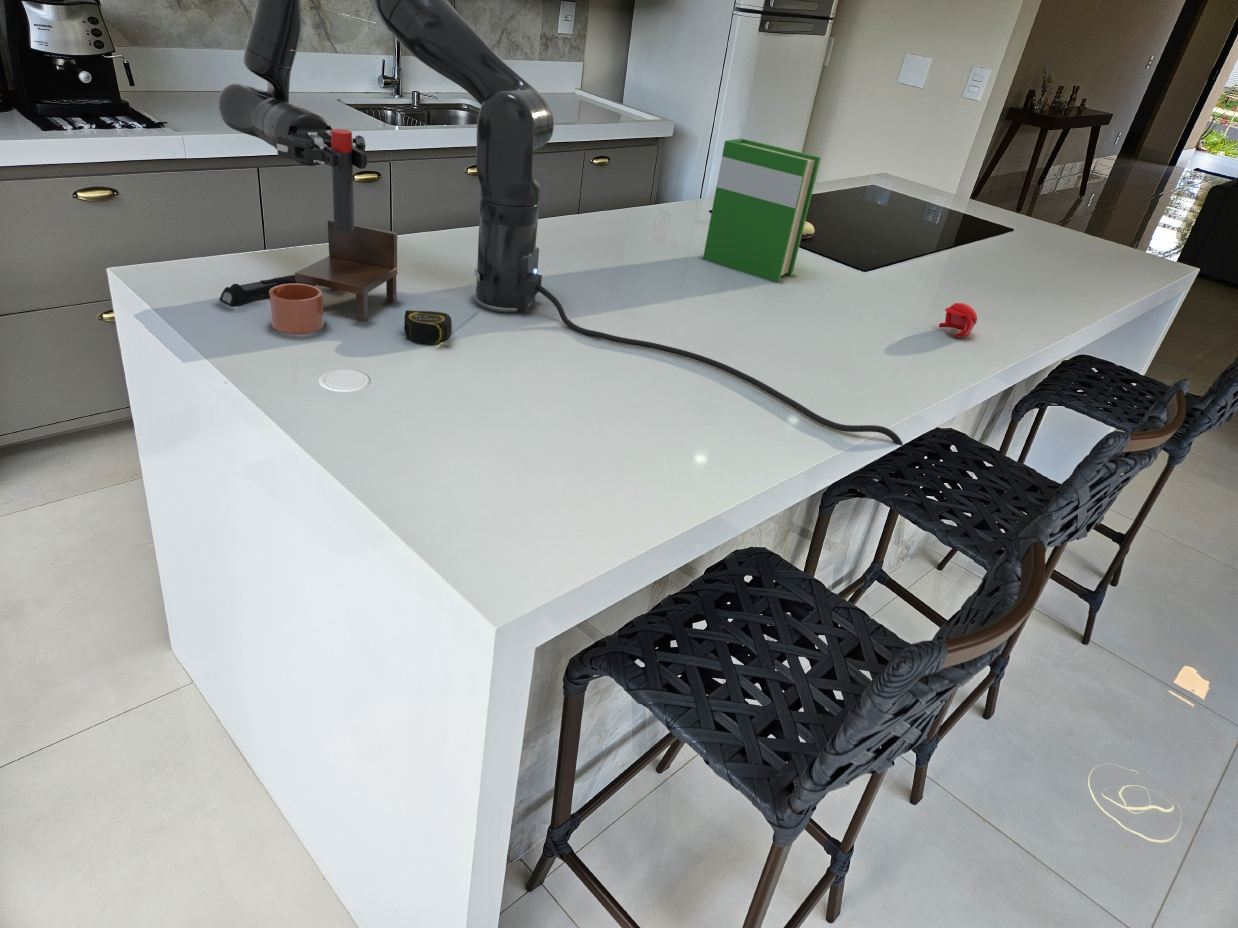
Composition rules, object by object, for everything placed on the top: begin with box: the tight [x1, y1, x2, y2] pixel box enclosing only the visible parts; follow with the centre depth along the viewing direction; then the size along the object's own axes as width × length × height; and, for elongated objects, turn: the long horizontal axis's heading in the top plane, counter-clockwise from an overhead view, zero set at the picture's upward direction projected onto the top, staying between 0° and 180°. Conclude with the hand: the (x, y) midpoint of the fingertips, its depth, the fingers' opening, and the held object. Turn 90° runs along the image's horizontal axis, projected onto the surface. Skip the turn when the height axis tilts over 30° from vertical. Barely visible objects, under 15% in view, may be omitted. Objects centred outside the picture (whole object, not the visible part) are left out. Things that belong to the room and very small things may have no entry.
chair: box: [294, 218, 398, 323], centre depth 128 cm, size 11×11×12 cm
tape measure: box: [403, 310, 453, 345], centre depth 123 cm, size 7×7×4 cm
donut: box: [801, 221, 815, 240], centre depth 206 cm, size 10×5×9 cm
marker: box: [331, 128, 355, 232], centre depth 120 cm, size 3×3×14 cm
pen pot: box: [268, 283, 325, 335], centre depth 120 cm, size 7×7×6 cm
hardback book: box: [702, 137, 822, 283], centre depth 172 cm, size 18×7×24 cm, turn 56°
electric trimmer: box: [219, 274, 317, 308], centre depth 129 cm, size 4×16×3 cm, turn 142°
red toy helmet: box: [938, 302, 978, 339], centre depth 157 cm, size 8×6×6 cm
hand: (352, 161), depth 117 cm, fingers closed on marker, 3 cm apart
